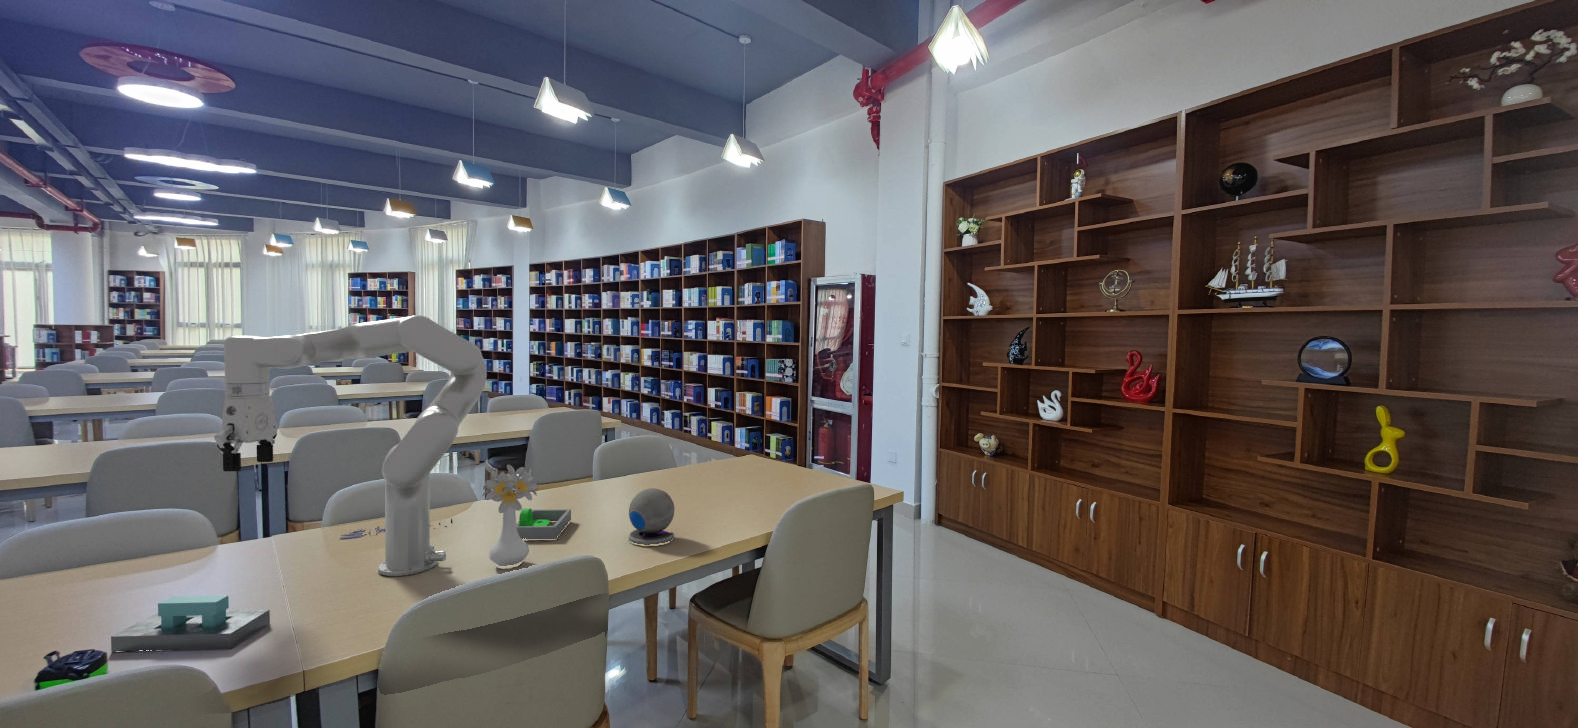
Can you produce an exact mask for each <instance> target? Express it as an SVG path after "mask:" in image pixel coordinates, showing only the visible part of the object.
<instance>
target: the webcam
mask: <svg viewBox="0 0 1578 728" xmlns="http://www.w3.org/2000/svg"><path fill="white" fill-rule="evenodd" d="M674 516H675V504H674V501H673V498H671V496H670V494H669V493H667V492H666V491H664V490H662V489H659V488H655V487H654V488H653V487H651V488H645V489H643V490H641V491H640V492H638V493H637V494H636V495H635V496H634V497H633V498H632V500H631V501H630V503H629V506H628V517H629V520H630V521H629V522H630V523H631V525H632V526H633V527H634V529H635V530H633V531H631V532H630V533H629V534H628V542H629V541H631V542H633V543H637V544H644V545H650V544H659V543H665V542H668V541H671V540H672V539H673V538H674V539H675V533H674V532H672V531H671V532H669V531H667V530H666V529H667V528H668V527H669V526H670V524H671V523H672V522H673V519H674Z"/></svg>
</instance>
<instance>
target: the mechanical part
mask: <svg viewBox="0 0 1578 728" xmlns="http://www.w3.org/2000/svg"><path fill="white" fill-rule="evenodd" d="M532 510H533V509H532V508H522V509H521V510H520V512H519V517H518V518H519V519H518V522H519V526H551V523H550V521H549V520H543V519H540V520H532Z"/></svg>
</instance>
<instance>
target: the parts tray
mask: <svg viewBox="0 0 1578 728" xmlns="http://www.w3.org/2000/svg"><path fill="white" fill-rule="evenodd" d="M531 510H532V520H540V519H543V520H549V521H557V522H556V523H553V525H550V526H519V521H517V522H516V528H517V532H518V534H519V536H520V538H521V539H523V538H524V539H525V538H526V539H556V538H557V536H558V535H559V534H560V533H561V531H562V530H563V529H564V528H565V526H566V525H567V524H568V522H569V521H570V520H571V521H572V509H571V508H570V509H569V508H568V509H567V508H566V509H564V508H563V509H560V508H559V509H558V508H557V509H556V508H555V509H531ZM557 539H558V538H557Z"/></svg>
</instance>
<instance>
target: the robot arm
mask: <svg viewBox="0 0 1578 728" xmlns="http://www.w3.org/2000/svg"><path fill="white" fill-rule="evenodd" d="M223 346H224V347H223V349H224V352H223V354H224V355H223V356H224V398H225V399H224V402H223V403H224V404H223V409H222V419H221V420H222V421H221V422H222V423H221V429H220V431H218V432H217V433H216V434H215V435H214V437H213V438H214V441H215V443H216V444H217V445H216V446H217V448H218V449H219V450H220V451H219V452H220V454H222V471H223V472H240V471H242V455H241V452H239V450H240V449H241V448H242V445H243V444H244V443H245V444H250V443H258V444H256V462H257V463H272V462H274V445H275V442H276V437H277V435H278V429H279V427H280V425H279V424H278V423H277V422H276V415H275V406H274V402H273V399H272V395H270V368H274V369H275V368H276V369H286V370H288V369H289V370H290V369H295V368H299V367H303V366H308V365H309V366H310V365H315V364H320V363H327V362H333V361H340V360H342V361H343V360H350V359H351V360H352V359H353V360H354V359H355V360H362V359H363V360H365V359H369V358H376V357H382V356H383V357H384V356H390V355H393V354H401V353H407V352H409V353H410V352H414V353H415V354H417V355H419V356H420V357H422V358H424V359H427V360H428V361H430V362H431V363H434V364H435V365H437V366H440V367H442V368H443V369H445V370H447V371H449V372H450V374H449V375H450V376H449V377H448V379H447V381H446V383H445V384H444V386H443V387H442V389H440V391H439V392H438V394H437V395H436V397H434V399H433V400H432V401H431V403H430V404H429V405H428V406H427V407H426V408H425V409H424V410H423V411H422V412H421V413H420V414H419V415H418V416H417V417H416V420H415V421H414V424H413V425H412V426H411V427H410V429H409V430H408V431H407V433H406V434H405V435H404V436H403V437H402V438H401V440H400V441H399V442H398V444H395V445H394V446H393V447H391V448H390V450H389V451H388V452H387V454H386V455H385V457H384V459H383V463H382V468H381V473H382V474H381V475H382V477H383V479H384V480H385V481H384V483H385V484H384V486H385V487H384V488H385V489H384V491H385V492H384V494H385V495H384V497H385V498H384V500H385V501H384V503H385V504H384V506H385V507H384V528H385V531H384V536H385V539H384V543H385V548H384V549H385V561H383V562H381V563H380V564H379V565H378V566H377V571H378V574H380V575H382V576H385V575H386V576H388V577H401V576H402V577H404V576H410V575H409V574H411V575H415V574H414V573H416V574H419V573H418V572H420V573H423V572H425V570H426V571H427V570H430V569H432V568H433V566H434V565H435V564H436V565H437V563H438V562H445V561H446V560H447V554H446V551H445V550H439V551H436V550H435V545H432V544H431V543H430V542H431V535H430V533H431V531H430V530H431V528H430V527H431V524H430V523H431V521H430V519H431V517H430V514H431V513H430V512H431V511H430V509H431V508H430V503H431V501H430V500H431V495H430V494H431V491H430V490H431V489H430V488H431V487H430V486H431V485H430V481H431V477H430V476H431V472H432V470H433V469H434V468H435V467H436V466H437V464H438V463H439V461H440V460H441V459H442V457H443V456H444V455H445V453H447V451H448V450H449V449H450V448H451V446H452V444H453V443H454V442H455V440H456V438H457V436H458V432H459V427H460V425H461V424H462V422H463V420H464V419H466V417H467V416H468V415H469V413H470V411H471V410H472V408H473V407H474V405H475V404H477V401H478V400H479V399H480V397H481V395H482V393H483V392H484V390H485V388H486V387H485V386H486V382H487V376H488V375H487V374H488V373H487V365H486V362H485V360H484V357H483V354H482V352H481V349H480V348H479V347H478V345H476V343H473V342H471V341H470V340H467V339H465V338H463V336H459V335H457V333H454V332H452V331H451V330H449V329H447V328H445V327H444V326H442V325H441V324H438V323H437V322H436V321H433V320H432V319H431V318H429V317H427V316H425V315H418V314H416V315H410V316H403V317H397V318H389V319H383V320H374V321H366V322H360V323H355V324H350V325H348V326H345V327H340V328H336V329H330V330H324V331H317V332H309V333H301V334H291V335H280V336H271V337H270V336H269V337H265V336H259V335H233V336H231V335H230V336H228V337H226V339H224V342H223ZM436 565H435V566H436ZM435 566H434V567H435ZM422 571H423V572H422ZM403 575H404V576H403Z"/></svg>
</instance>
